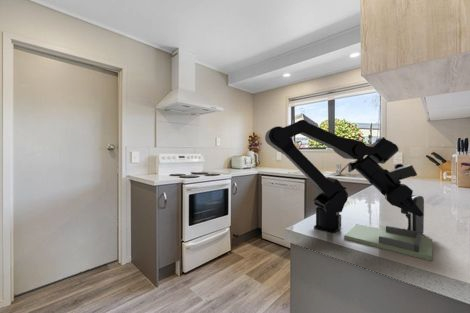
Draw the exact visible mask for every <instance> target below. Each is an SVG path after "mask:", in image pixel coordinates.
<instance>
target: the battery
mask: <svg viewBox="0 0 470 313" xmlns="http://www.w3.org/2000/svg"><path fill="white" fill-rule="evenodd" d="M412 200H413V201H414V202H415V204H416V205H417V206H418V208H419V209H420V210H421V211H422V213H423V214H424V215H425V199H424V197H423V196H422V195H417V194H416V195H415V194H412ZM400 213H401V214H403V215H405V217H406V218H407V229H406V230H412V231H417V232H421V235H423V233H424V229H425V228H424V224H425V223H424V222H425V220H424V219H425V216H424V215H423V216H421V217H419V216H417V215H415V214H413V213H410V212H408V211H406V210H403V209H401V208H400Z"/></svg>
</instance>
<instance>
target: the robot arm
mask: <svg viewBox="0 0 470 313" xmlns="http://www.w3.org/2000/svg"><path fill="white" fill-rule="evenodd" d="M297 135H301V136H304V137H306V138H308V139H311V140H312V141H314V142H317V143H319V144H321V145H324V146H326V147H328V148H330V149H332V150H333V151H334V152H335V154H337V155H339V156H340V157H342V158H343V159H345V160H355V161H354V162H349V163H347V166H348V170H347V171H348V173H351V172H354V170H356V171H357V172H358V173H359V174H360V175H361V176H362V177H363V178H364V179H365V180H366V181H367V182H369V184H370V185H372V186H374V188H375V189H376V190H377V191H379V192H380V193H381V195H383V196H384V199H385V200H386V201H387V202H388V203H389V204H390V205H391V206H393V207H397V208H398V209H400V210H401V209H403V210H406V211H408V212H410V213H413V214H415V215H417V216H419V217H421V216H423V215H425V213H424V214H423V213H422V211H421V210H420V209H419V208H418V206H417V205H416V204H415V202H414V201H413V200H412V195H414V193H413V192H414V190H413V189H411V188H410V187H409V186H408V185H406V184H404V183H402V180H404V179H408V178H411V177H416V176H418V173H417V171H416V170H415V168H414V165H413V164H405V165H403V164H402V163H397V164H395V165H394V169H392V170H391V169H390V170H388V169H386V168H384V167H382V166H381V165H382V164H385V163H386V162H388V161H389V160H390V159H392V157H393V156H395V155H396V154H397V153H398V152H399V147H398V145H397V144H396V143H394V142H392V141H390V140H388V139H386V138H385V137H378V138H377V139H376V140H375V141H374V142H373V143H372V144H371V145H370V146H369V145H367V144H366V143H365V142H364V141H361V140H358V139H355V138H354V139H353V138H348V137H342V136H339V135H337V134H335V133H333V132H331V131H328V130H326V129H323V128H322V127H319V126H317V125H315V124H313V123H311V122H308V121H307V120H306V119H300V120H298V121H295V122H294V123H292V124H288V125H286V126H274V127H272V128H270V129H269V130H267V132H266V133H265V135H264V138H265V139H264V140H265V143H266V144H267V145H269V147H271V148H273V149H274V150H276V151H277V152H279V153H281V154H282V155H284V156H285V157H286V158H287V159H288V160H289V161H290V162H291V163H292V164H293V165H294V167H295V168H297V169H298V170H299V171H300V172H301V173H302V174H303V175H304V176H305V177H306V179H308V181H310V182H311V183H312V184H313V186H314V188H315V189H316V192H317V193H318V195H317V196H315V197H314V199H313V204H314V206H315V207H316V208H315V225H314V226H313V228H314V229H316V230H322V231H324V232H329V233H335V234H336V232H338V231H339V230H340V229H342V215H341V214H340V213H342V212H343V210H344V207H345V204H346V203H347V202H348V199H349V193H348V192H347V187H345V186H343V185H342V183H341V182H340V180H338V179H337V178H333V177H326V176H325V175H324V174H323V173H322V172H321V171H320V170H319V168H318V167H316V166H315V165H314V163H312V161H310V160H309V159H308V158H307V157H306V156H305V154H303V153H302V152H301V151H300V150H299V149H298V147H296V145H295V143H294V140H293V137H296V136H297ZM380 164H381V165H380Z"/></svg>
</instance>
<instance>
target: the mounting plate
mask: <svg viewBox="0 0 470 313" xmlns="http://www.w3.org/2000/svg"><path fill="white" fill-rule="evenodd" d="M343 239H344V240H347V241H350V242H355V243H358V244H363V245H367V246H371V247H375V248H378V249H382V250H386V251H391V252H394V253H399V254H403V255H405V256H410V257H415V258H419V259H422V260H426V261H430V262H432V261H433V260H432V258H433V239H432V238H429V237H428V238H427V237H423V236H422V234H421V232H417V231H412V230H407V229H406V228H400V227H395V226H391V225H385V229H384V228H378V227H373V226H367V225H363V224H360V223H359V224H358V223H356V224H355V225H354V226H353V227H351V229H350V230H348V231H347V232H346V233H345V234H344V235H343Z"/></svg>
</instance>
